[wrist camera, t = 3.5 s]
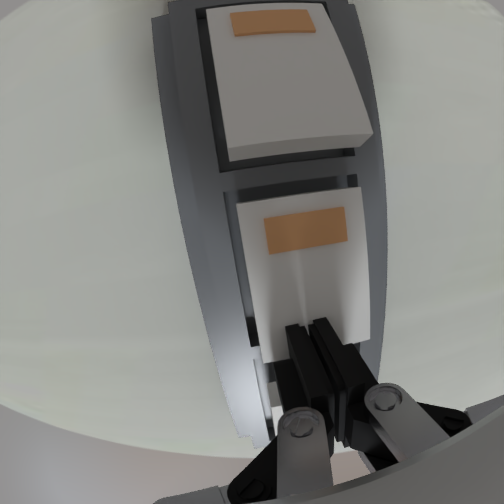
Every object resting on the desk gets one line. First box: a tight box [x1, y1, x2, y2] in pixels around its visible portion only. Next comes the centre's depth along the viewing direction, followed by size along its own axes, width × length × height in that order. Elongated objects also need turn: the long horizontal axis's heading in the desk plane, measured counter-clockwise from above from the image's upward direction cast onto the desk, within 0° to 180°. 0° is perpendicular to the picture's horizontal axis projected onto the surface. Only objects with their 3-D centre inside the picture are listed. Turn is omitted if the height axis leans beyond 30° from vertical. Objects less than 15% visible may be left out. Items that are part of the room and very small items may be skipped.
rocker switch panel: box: [151, 0, 387, 449], centre depth 14 cm, size 23×9×4 cm, turn 8°
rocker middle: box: [236, 187, 370, 363], centre depth 11 cm, size 6×4×1 cm
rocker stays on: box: [206, 3, 373, 162], centre depth 9 cm, size 6×4×1 cm
